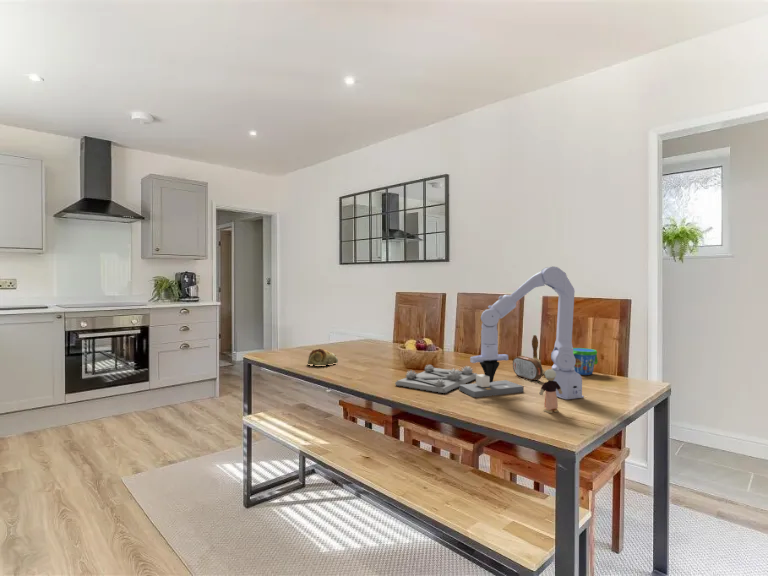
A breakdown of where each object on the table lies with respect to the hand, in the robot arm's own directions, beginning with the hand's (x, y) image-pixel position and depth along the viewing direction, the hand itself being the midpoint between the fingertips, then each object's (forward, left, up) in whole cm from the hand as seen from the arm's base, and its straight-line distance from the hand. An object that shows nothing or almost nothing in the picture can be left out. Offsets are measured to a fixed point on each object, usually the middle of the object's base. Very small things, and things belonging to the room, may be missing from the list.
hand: (489, 381), depth 150 cm
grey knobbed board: (+19, +10, -4) cm, 22 cm away
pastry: (+70, +45, -4) cm, 83 cm away
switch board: (0, -1, -3) cm, 3 cm away
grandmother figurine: (-26, -4, -4) cm, 27 cm away
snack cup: (+10, -53, -4) cm, 54 cm away
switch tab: (0, +3, -1) cm, 3 cm away
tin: (+12, -26, -4) cm, 29 cm away
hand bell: (+19, -36, -4) cm, 41 cm away
